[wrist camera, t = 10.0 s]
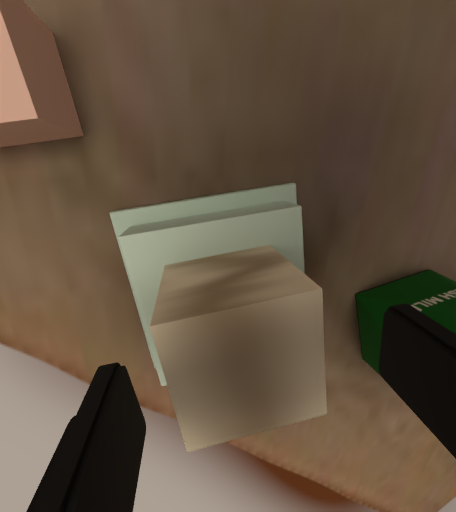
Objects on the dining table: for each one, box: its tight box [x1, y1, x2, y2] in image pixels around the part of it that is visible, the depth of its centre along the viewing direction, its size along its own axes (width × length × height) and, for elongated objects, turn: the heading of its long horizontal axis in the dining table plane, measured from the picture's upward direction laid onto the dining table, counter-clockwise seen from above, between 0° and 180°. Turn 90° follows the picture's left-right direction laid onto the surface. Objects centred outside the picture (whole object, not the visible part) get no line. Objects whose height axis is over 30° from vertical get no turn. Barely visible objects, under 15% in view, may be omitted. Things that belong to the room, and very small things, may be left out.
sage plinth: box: [110, 183, 305, 386], centre depth 17 cm, size 12×12×4 cm
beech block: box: [150, 245, 327, 452], centre depth 12 cm, size 6×6×6 cm
